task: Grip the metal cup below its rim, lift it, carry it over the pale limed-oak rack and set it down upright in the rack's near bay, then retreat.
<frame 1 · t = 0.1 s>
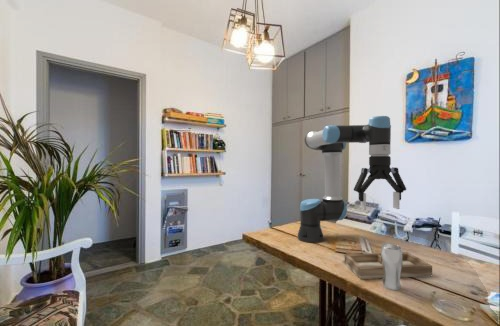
hand: (379, 208, 96), 28 cm above the table, fingers open, 13 cm apart
metal cup: (391, 286, 90), on the table
rack: (385, 269, 103), on the table
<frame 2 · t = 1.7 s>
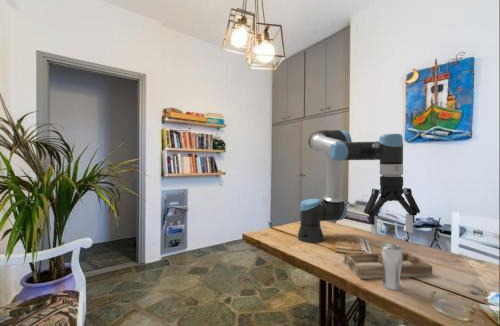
hand: (391, 232, 89), 20 cm above the table, fingers open, 13 cm apart
nothing on the table moved.
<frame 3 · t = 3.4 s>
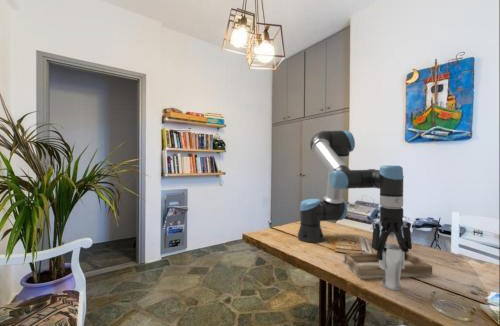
hand: (391, 267, 90), 7 cm above the table, fingers closed on metal cup, 7 cm apart
metal cup: (391, 286, 90), on the table, touching gripper
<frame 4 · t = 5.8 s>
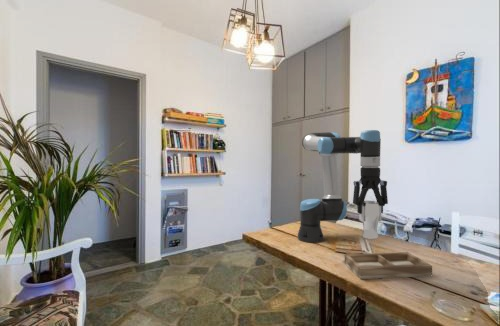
hand: (370, 220, 102), 21 cm above the table, fingers closed on metal cup, 7 cm apart
metal cup: (370, 237, 103), point 14 cm above the table, touching gripper
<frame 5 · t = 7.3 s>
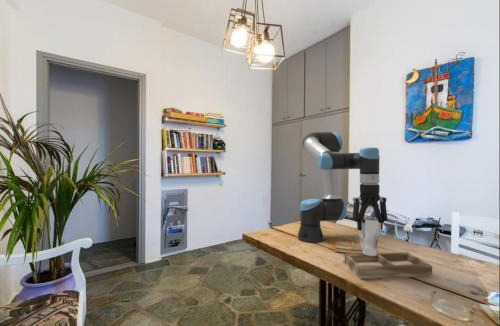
hand: (369, 237, 103), 14 cm above the table, fingers closed on metal cup, 7 cm apart
metal cup: (370, 253, 103), point 7 cm above the table, touching gripper
when the fingers open (9 cm above the table, at t = 8.6 s): metal cup drops 1 cm, resting on rack.
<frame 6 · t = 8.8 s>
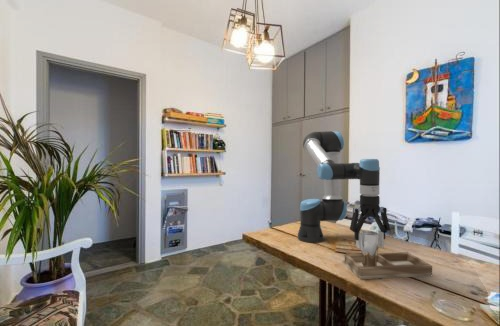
hand: (369, 247, 103), 10 cm above the table, fingers open, 9 cm apart
metal cup: (369, 267, 103), point 1 cm above the table, touching rack
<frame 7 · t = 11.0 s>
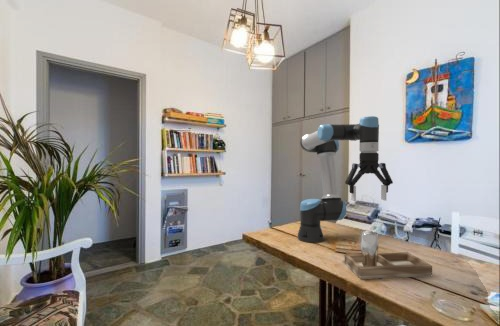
hand: (368, 200, 106), 29 cm above the table, fingers open, 13 cm apart
nothing on the table moved.
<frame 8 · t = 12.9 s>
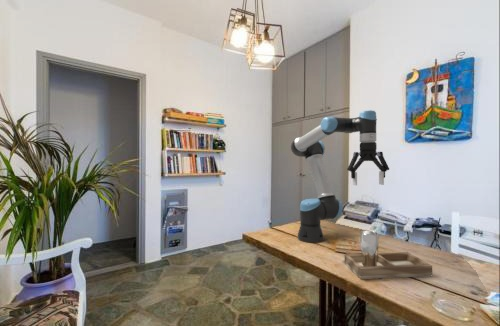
hand: (368, 184, 120), 35 cm above the table, fingers open, 13 cm apart
nothing on the table moved.
at the end: metal cup inside the target area (0.2 cm from its centre), point 1.0 cm above the table; metal cup tilted 0°; the gripper is holding nothing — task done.
